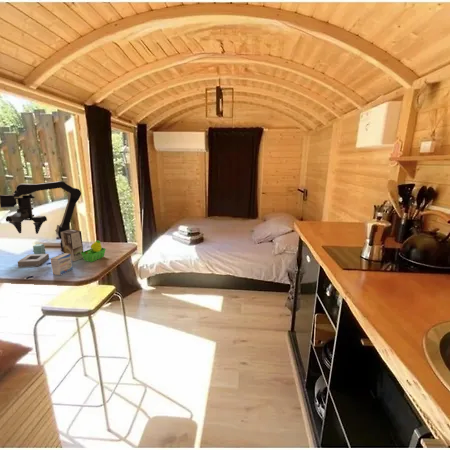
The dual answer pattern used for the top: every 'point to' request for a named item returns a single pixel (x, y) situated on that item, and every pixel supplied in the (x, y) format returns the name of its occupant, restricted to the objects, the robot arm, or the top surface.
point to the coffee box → (72, 243)
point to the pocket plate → (33, 259)
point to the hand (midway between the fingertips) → (28, 233)
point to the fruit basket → (94, 252)
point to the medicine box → (61, 263)
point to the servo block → (39, 249)
